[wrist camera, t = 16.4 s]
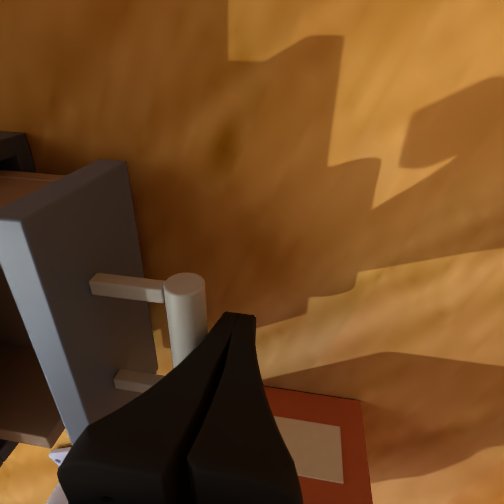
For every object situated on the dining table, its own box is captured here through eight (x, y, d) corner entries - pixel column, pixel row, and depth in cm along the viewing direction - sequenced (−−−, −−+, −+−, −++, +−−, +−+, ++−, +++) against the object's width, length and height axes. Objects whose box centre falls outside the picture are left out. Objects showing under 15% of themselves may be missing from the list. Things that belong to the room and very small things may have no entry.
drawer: (227, 167, 13) (174, 236, 8) (229, 378, 19) (199, 491, 14) (-139, 140, 15) (-354, 182, 10) (-36, 338, 21) (-141, 425, 16)
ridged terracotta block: (363, 399, 20) (383, 551, 14) (349, 447, 22) (361, 595, 16) (245, 382, 21) (216, 517, 15) (244, 430, 23) (218, 563, 17)
